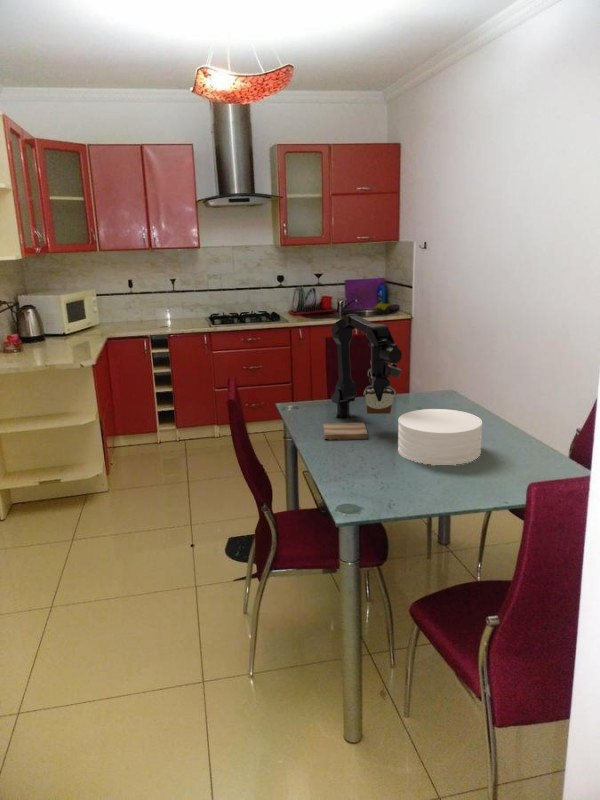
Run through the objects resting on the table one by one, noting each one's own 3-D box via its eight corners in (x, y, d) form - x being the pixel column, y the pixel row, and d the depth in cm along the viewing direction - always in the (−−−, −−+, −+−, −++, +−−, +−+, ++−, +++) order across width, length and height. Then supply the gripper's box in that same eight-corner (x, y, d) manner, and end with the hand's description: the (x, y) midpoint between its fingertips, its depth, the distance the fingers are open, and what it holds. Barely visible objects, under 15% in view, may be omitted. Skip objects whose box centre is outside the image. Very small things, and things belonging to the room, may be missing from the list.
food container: (392, 407, 233) (394, 383, 228) (394, 414, 227) (396, 390, 223) (360, 407, 232) (362, 383, 228) (362, 414, 227) (363, 390, 223)
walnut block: (323, 428, 235) (323, 423, 234) (363, 427, 235) (363, 422, 234) (324, 440, 221) (324, 434, 221) (367, 438, 221) (367, 433, 221)
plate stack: (480, 440, 216) (481, 410, 213) (481, 469, 190) (483, 435, 187) (402, 436, 223) (402, 407, 220) (393, 463, 197) (393, 430, 194)
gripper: (404, 363, 214) (403, 405, 218) (396, 353, 232) (395, 392, 236) (373, 364, 214) (373, 406, 218) (367, 354, 232) (367, 393, 236)
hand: (378, 399), depth 227 cm, fingers closed on food container, 6 cm apart
